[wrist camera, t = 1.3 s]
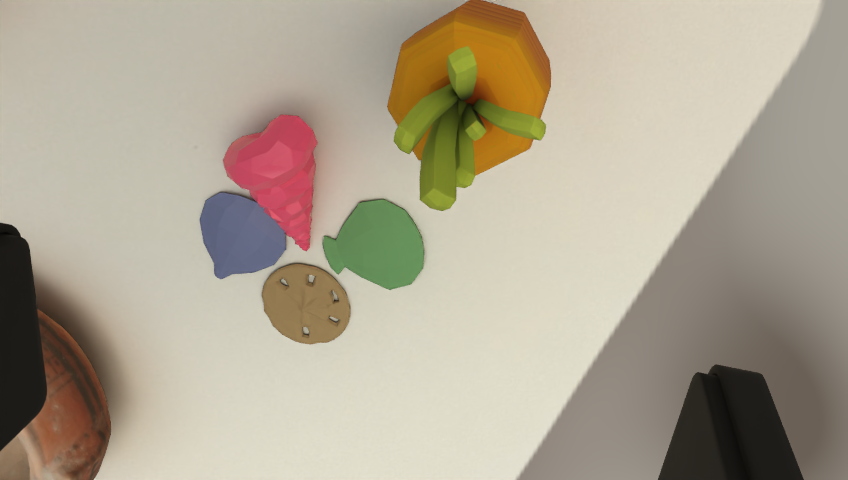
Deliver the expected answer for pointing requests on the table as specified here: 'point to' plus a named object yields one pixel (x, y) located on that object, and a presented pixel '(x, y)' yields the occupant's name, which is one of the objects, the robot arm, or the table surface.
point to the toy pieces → (301, 233)
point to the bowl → (62, 417)
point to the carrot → (468, 95)
